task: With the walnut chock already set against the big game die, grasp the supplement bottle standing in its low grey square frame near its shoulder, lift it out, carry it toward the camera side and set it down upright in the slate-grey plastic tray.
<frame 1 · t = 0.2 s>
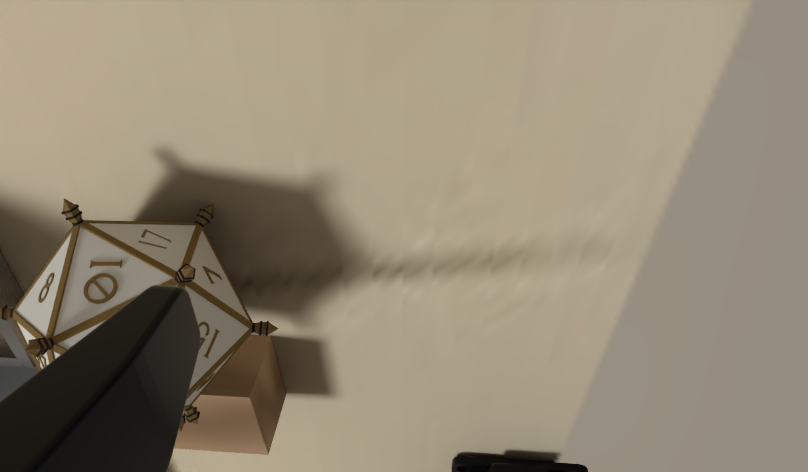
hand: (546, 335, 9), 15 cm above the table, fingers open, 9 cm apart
walnut chock: (216, 359, 34), on the table
parts tray: (24, 424, 39), on the table
game die: (177, 243, 30), on the table
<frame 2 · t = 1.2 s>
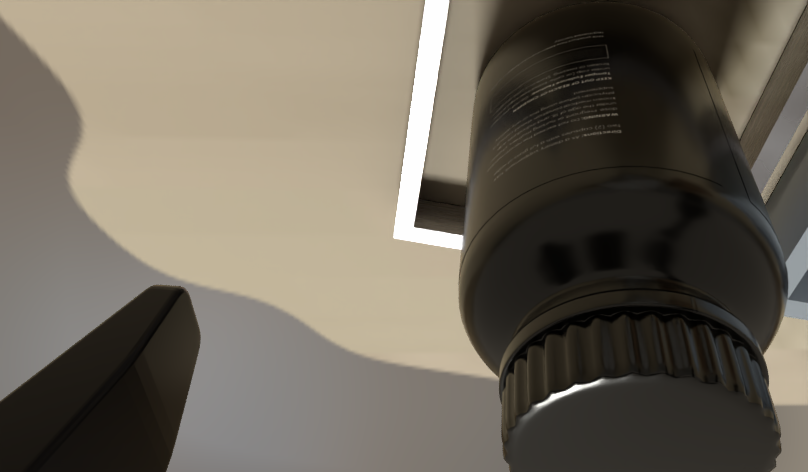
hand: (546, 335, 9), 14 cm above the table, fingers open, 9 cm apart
supplement bottle: (590, 100, 22), resting in grey square frame
grey square frame: (590, 104, 22), on the table
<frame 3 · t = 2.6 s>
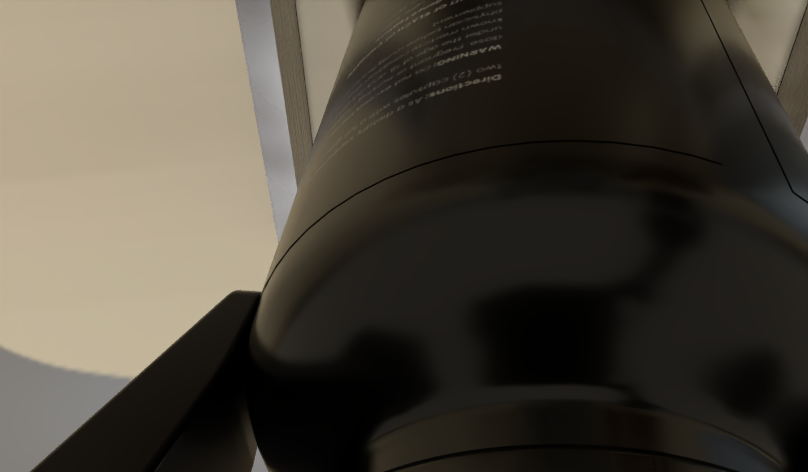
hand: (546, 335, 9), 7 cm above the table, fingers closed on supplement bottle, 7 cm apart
supplement bottle: (534, 58, 14), resting in grey square frame, touching gripper
grey square frame: (534, 63, 14), on the table
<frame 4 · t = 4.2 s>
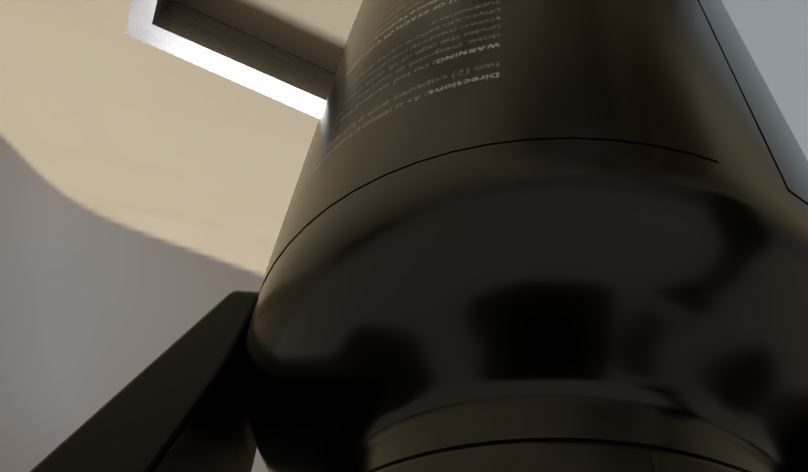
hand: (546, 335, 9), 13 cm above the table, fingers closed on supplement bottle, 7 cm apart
supplement bottle: (532, 58, 14), point 5 cm above the table, touching gripper
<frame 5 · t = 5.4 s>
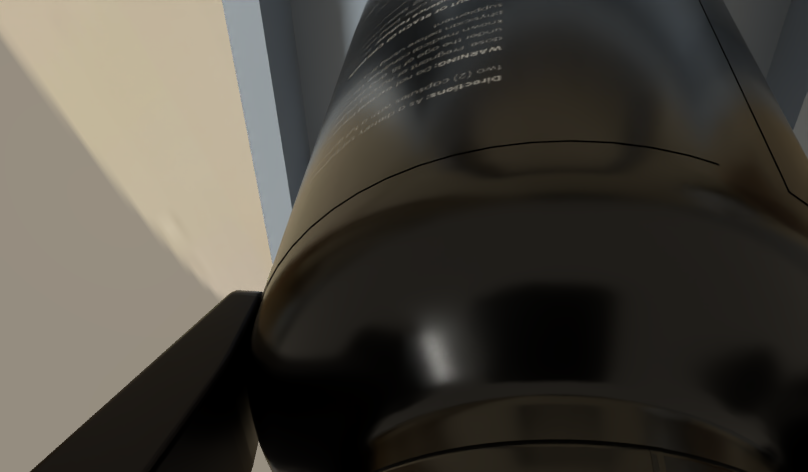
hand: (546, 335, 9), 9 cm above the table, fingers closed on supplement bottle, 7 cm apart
supplement bottle: (535, 59, 15), point 2 cm above the table, touching gripper
parts tray: (528, 16, 16), on the table
when the fingers open (9 cm above the table, at t = 5.9 s): supplement bottle drops 1 cm, resting on parts tray.
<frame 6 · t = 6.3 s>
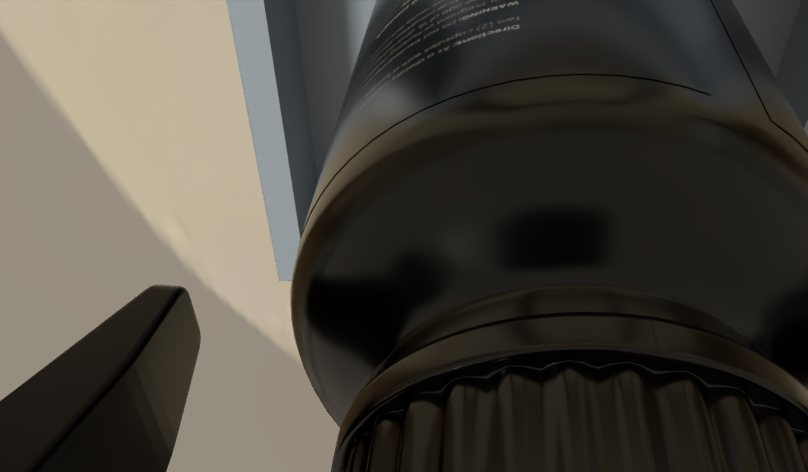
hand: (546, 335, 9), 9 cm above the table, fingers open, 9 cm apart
supplement bottle: (541, 33, 15), resting on parts tray
parts tray: (534, 19, 16), on the table
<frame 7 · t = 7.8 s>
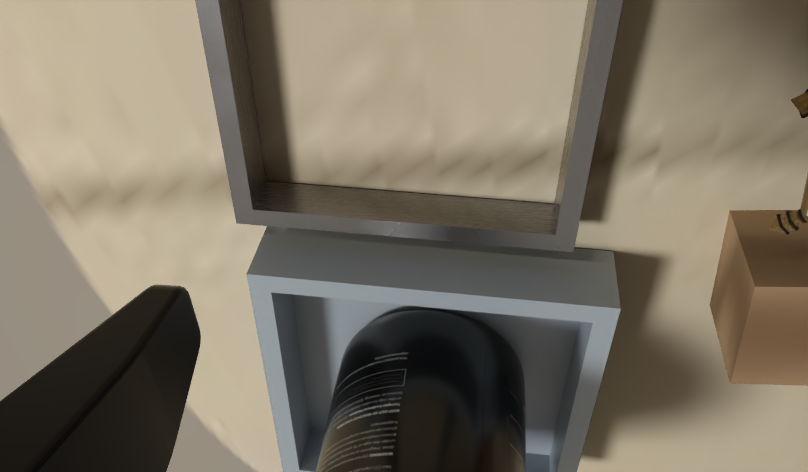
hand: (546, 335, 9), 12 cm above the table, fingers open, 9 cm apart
supplement bottle: (435, 361, 28), resting on parts tray
parts tray: (432, 351, 28), on the table
grey square frame: (408, 58, 20), on the table
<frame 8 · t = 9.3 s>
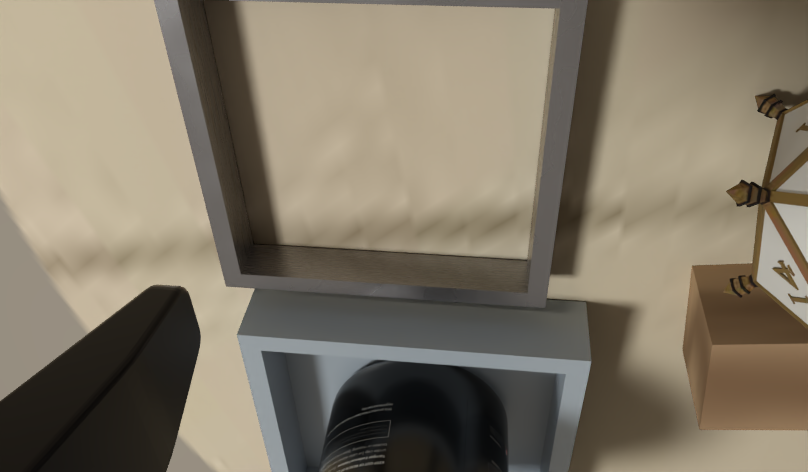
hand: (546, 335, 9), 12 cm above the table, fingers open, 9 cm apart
walnut chock: (782, 303, 24), on the table
supplement bottle: (423, 404, 29), resting on parts tray
parts tray: (420, 393, 29), on the table
grey square frame: (381, 134, 22), on the table
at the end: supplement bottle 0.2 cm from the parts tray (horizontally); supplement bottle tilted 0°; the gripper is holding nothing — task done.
